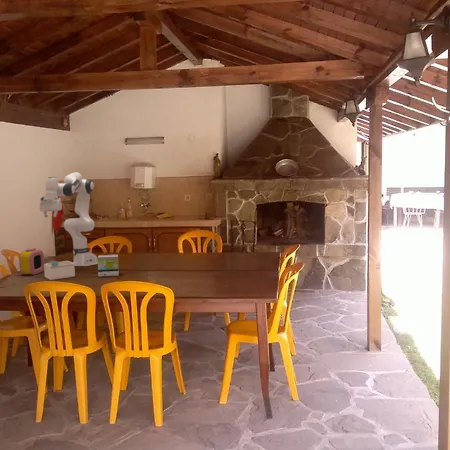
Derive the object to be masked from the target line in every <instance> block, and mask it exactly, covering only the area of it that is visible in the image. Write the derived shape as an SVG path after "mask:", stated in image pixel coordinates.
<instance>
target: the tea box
mask: <svg viewBox="0 0 450 450" xmlns="http://www.w3.org/2000/svg"><path fill="white" fill-rule="evenodd" d="M97 260H98V264H97V276H98V277H113V276H114V277H116V276H117V277H118V276H119V273H120V272H119V271H120V269H119V268H120V267H119V263H120V261H119V254H102V255H101V254H99V255H98V256H97Z"/></svg>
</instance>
